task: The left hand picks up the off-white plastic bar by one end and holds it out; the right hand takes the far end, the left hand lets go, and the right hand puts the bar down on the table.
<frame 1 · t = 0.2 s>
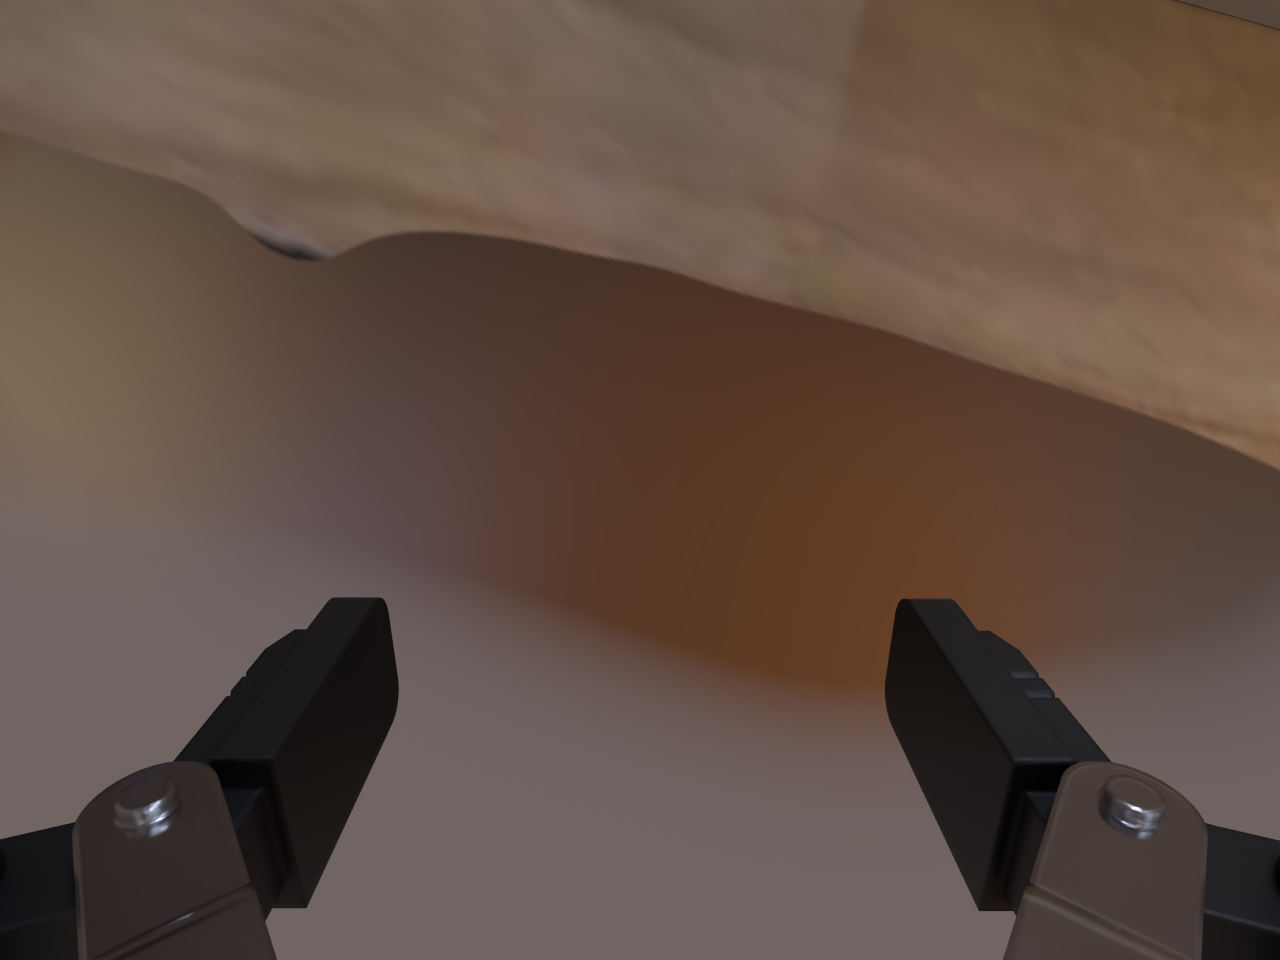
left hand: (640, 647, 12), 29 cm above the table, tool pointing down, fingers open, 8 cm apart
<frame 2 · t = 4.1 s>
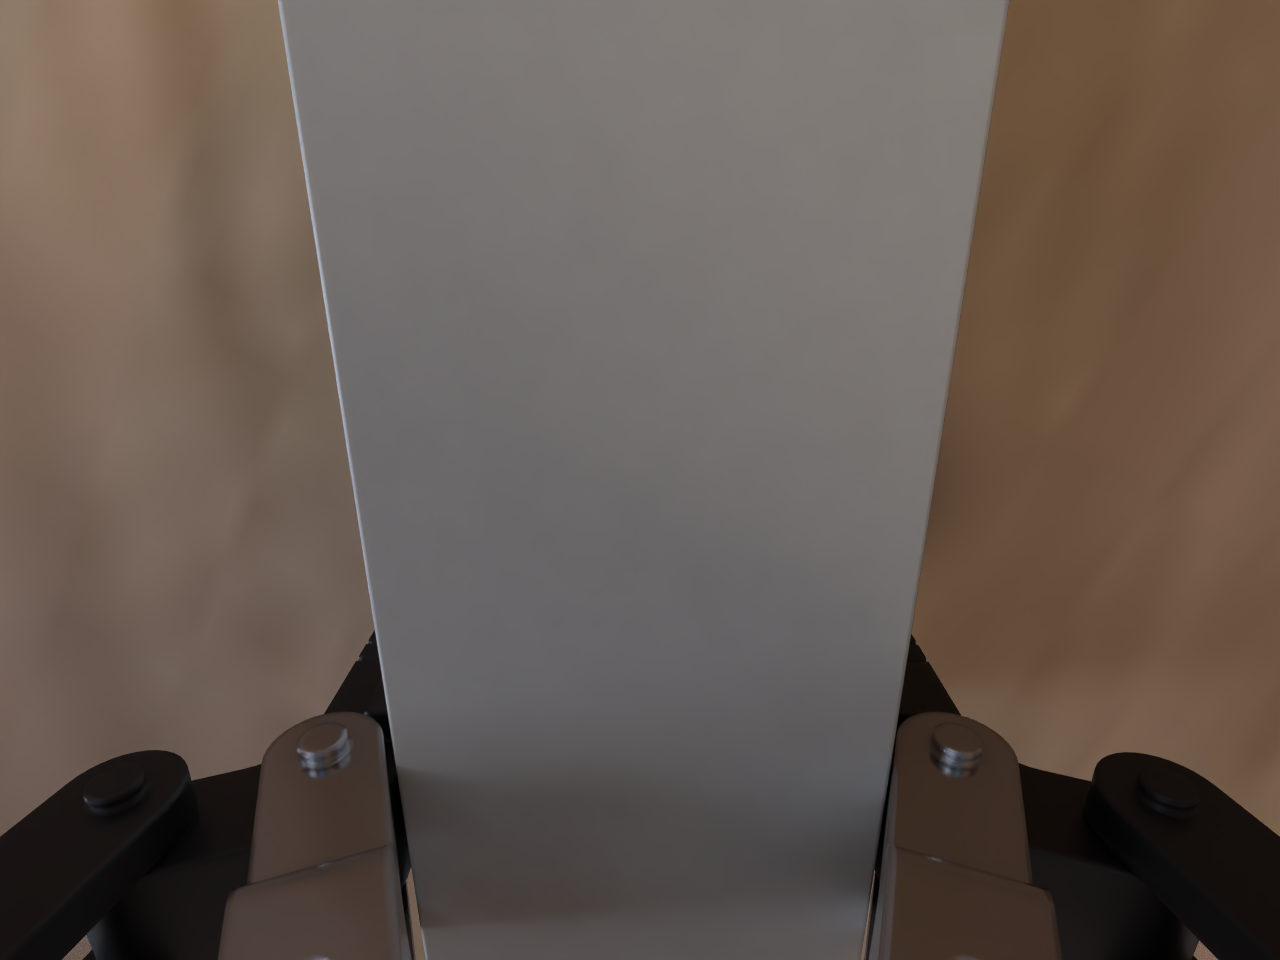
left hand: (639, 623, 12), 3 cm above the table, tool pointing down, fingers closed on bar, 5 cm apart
bar: (641, 5, 12), on the table, touching left hand
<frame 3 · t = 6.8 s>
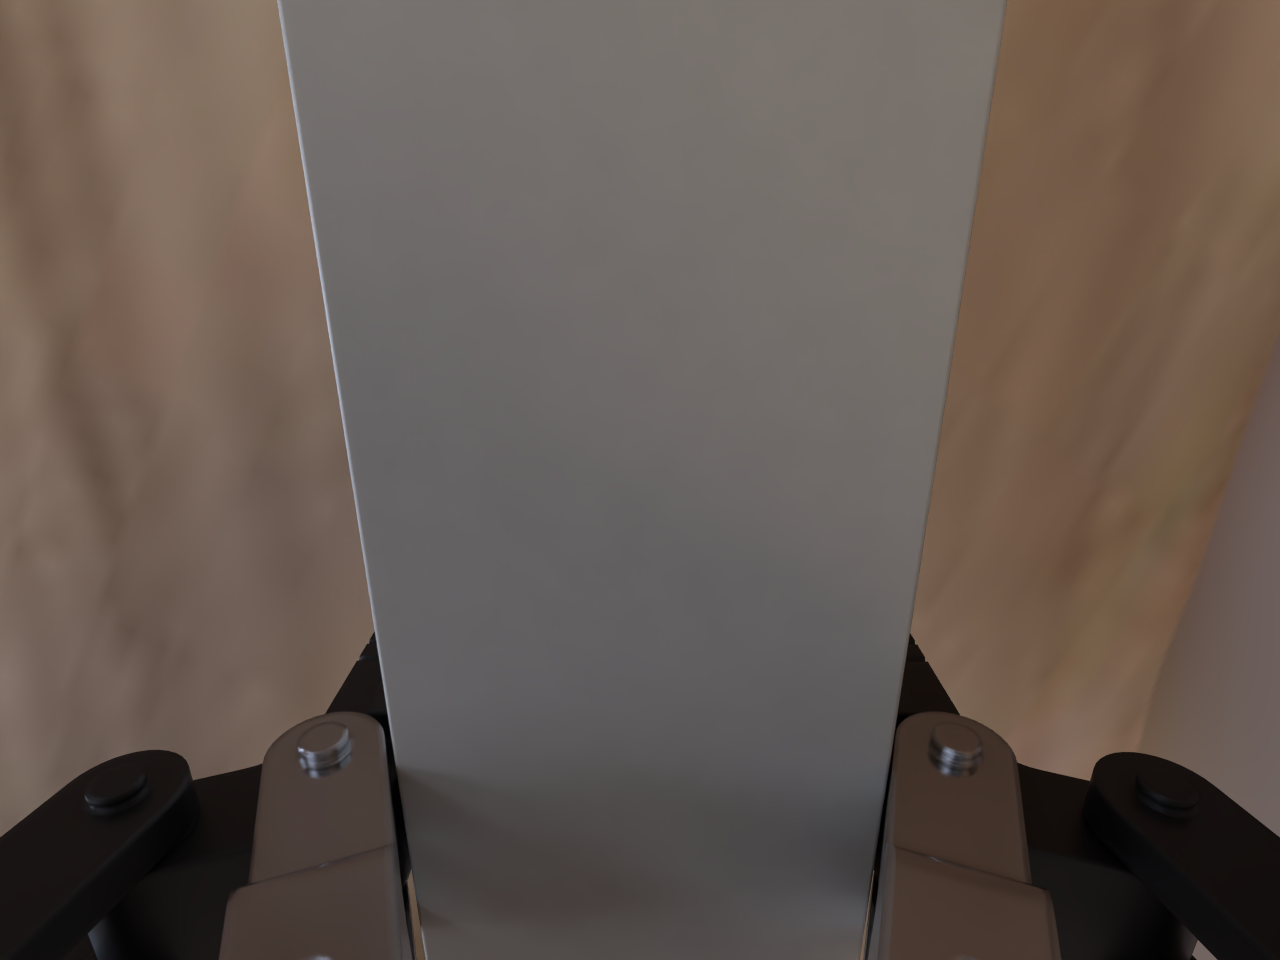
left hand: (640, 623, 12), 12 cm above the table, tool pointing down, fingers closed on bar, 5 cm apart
bar: (640, 4, 12), point 9 cm above the table, touching left hand
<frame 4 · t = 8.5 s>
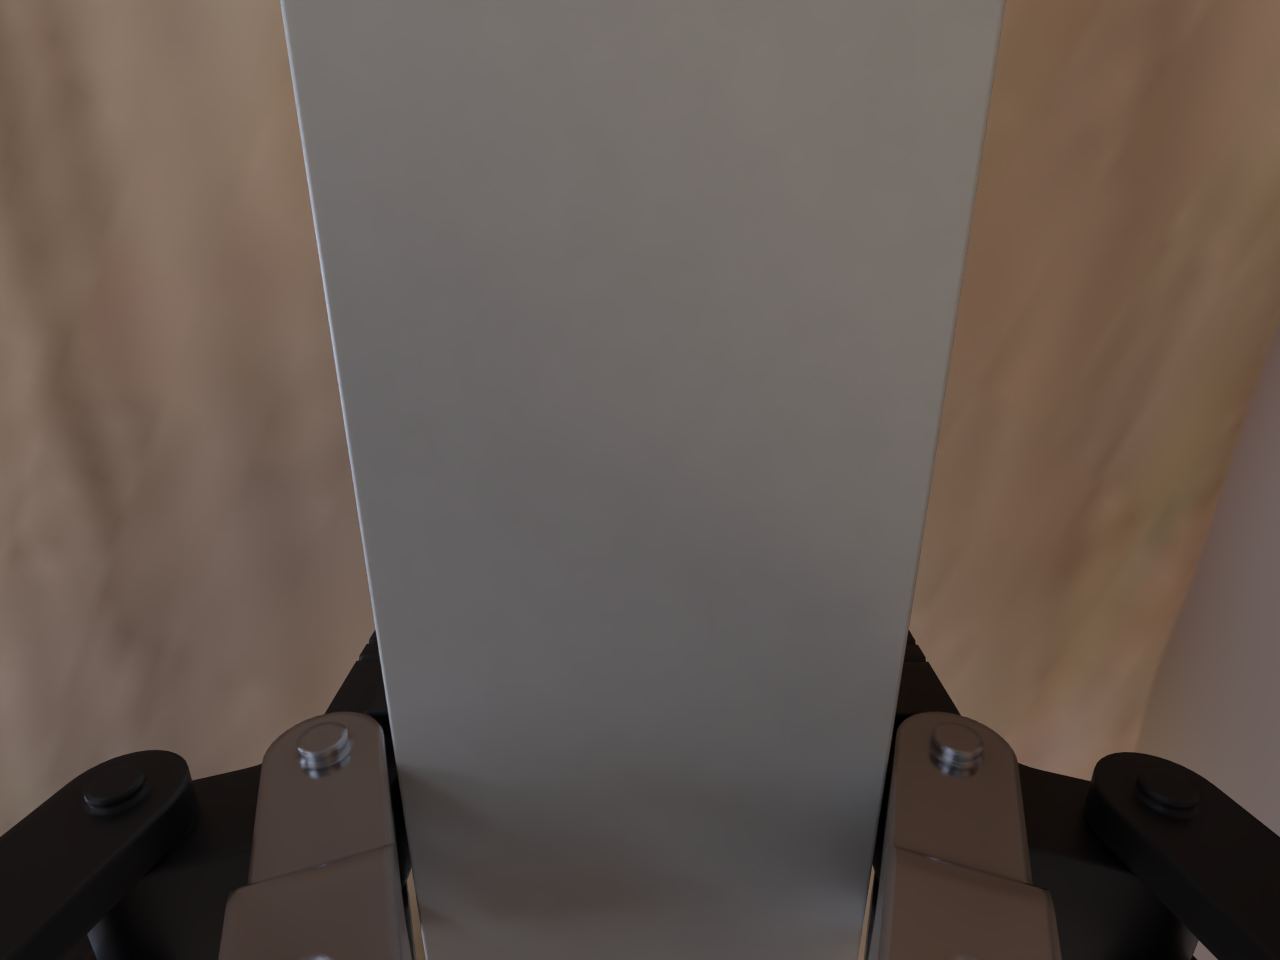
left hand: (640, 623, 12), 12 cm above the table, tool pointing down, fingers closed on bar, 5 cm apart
bar: (641, 4, 12), point 9 cm above the table, touching left hand, right hand
when the left hand's fingers open (12 cm above the table, at t = 9.4 s): bar stays where it is, held by the right hand.
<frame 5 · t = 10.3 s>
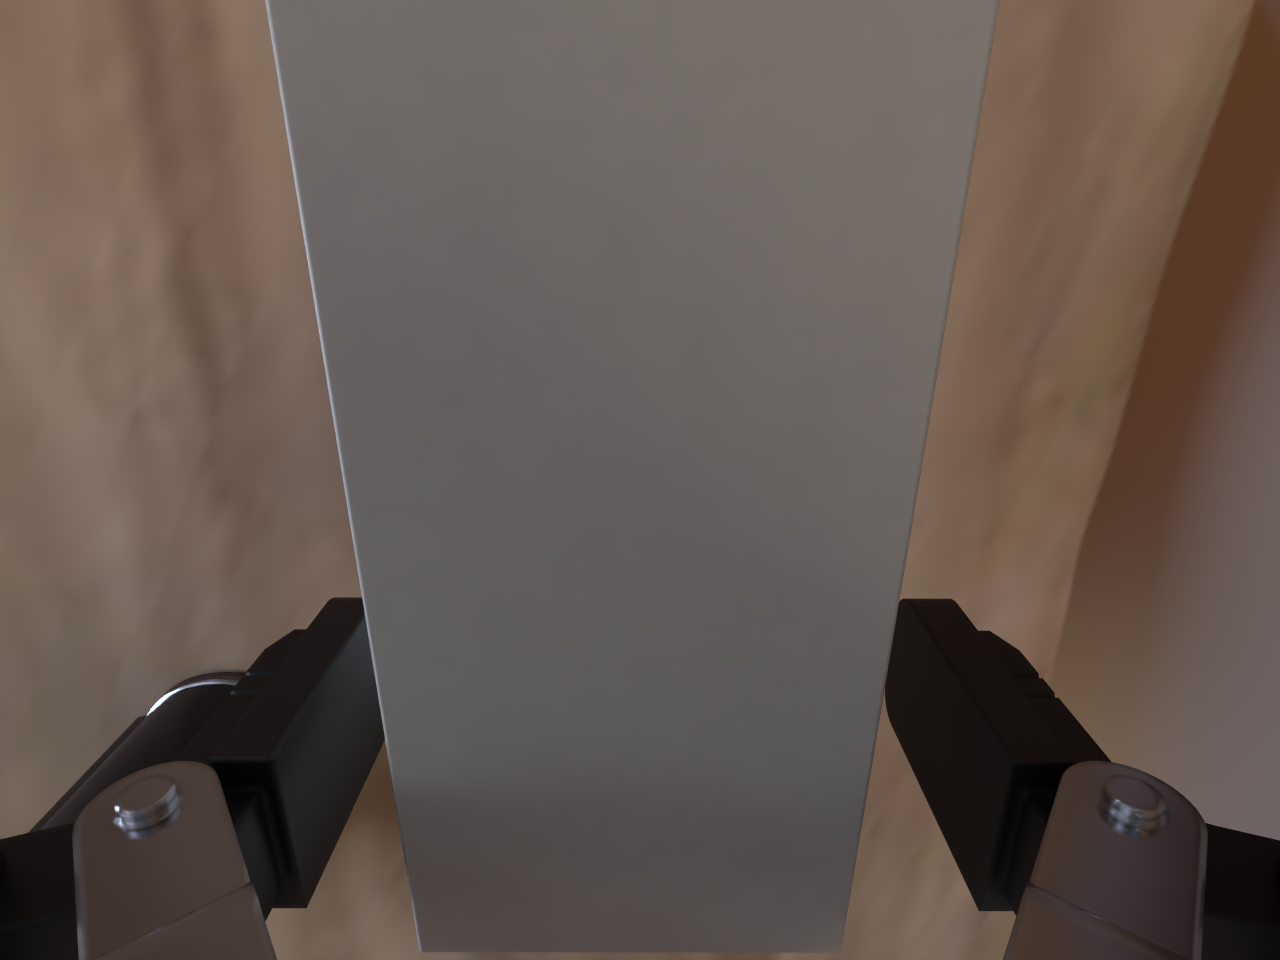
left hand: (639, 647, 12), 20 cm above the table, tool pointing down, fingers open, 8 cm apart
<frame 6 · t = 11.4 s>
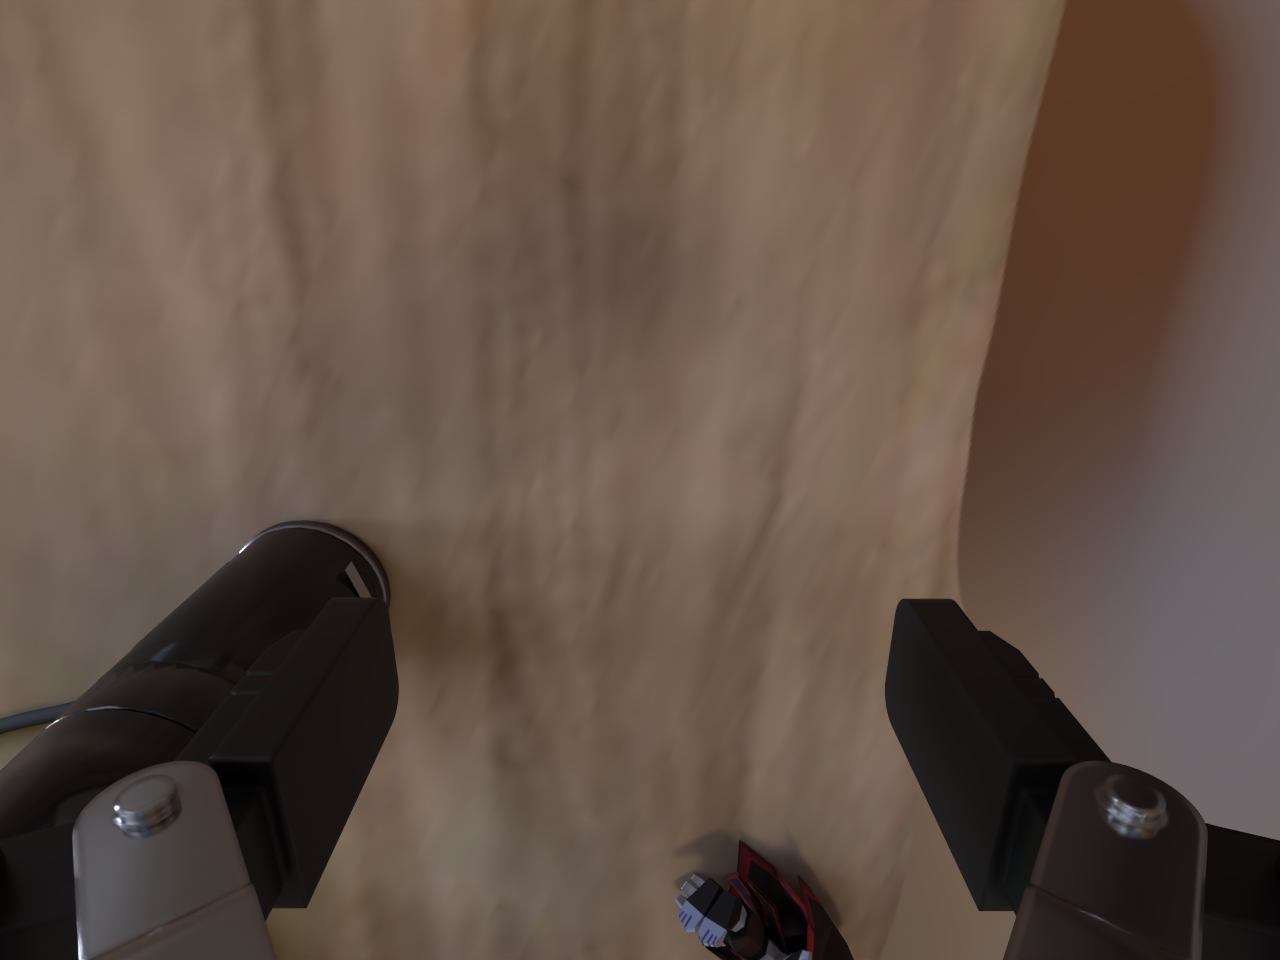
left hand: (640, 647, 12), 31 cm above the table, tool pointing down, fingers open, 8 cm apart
toy: (765, 891, 56), on the table
when the right hand's fingers open (4 cm above the table, at t = 14.7 s): bar stays where it is, on the table.
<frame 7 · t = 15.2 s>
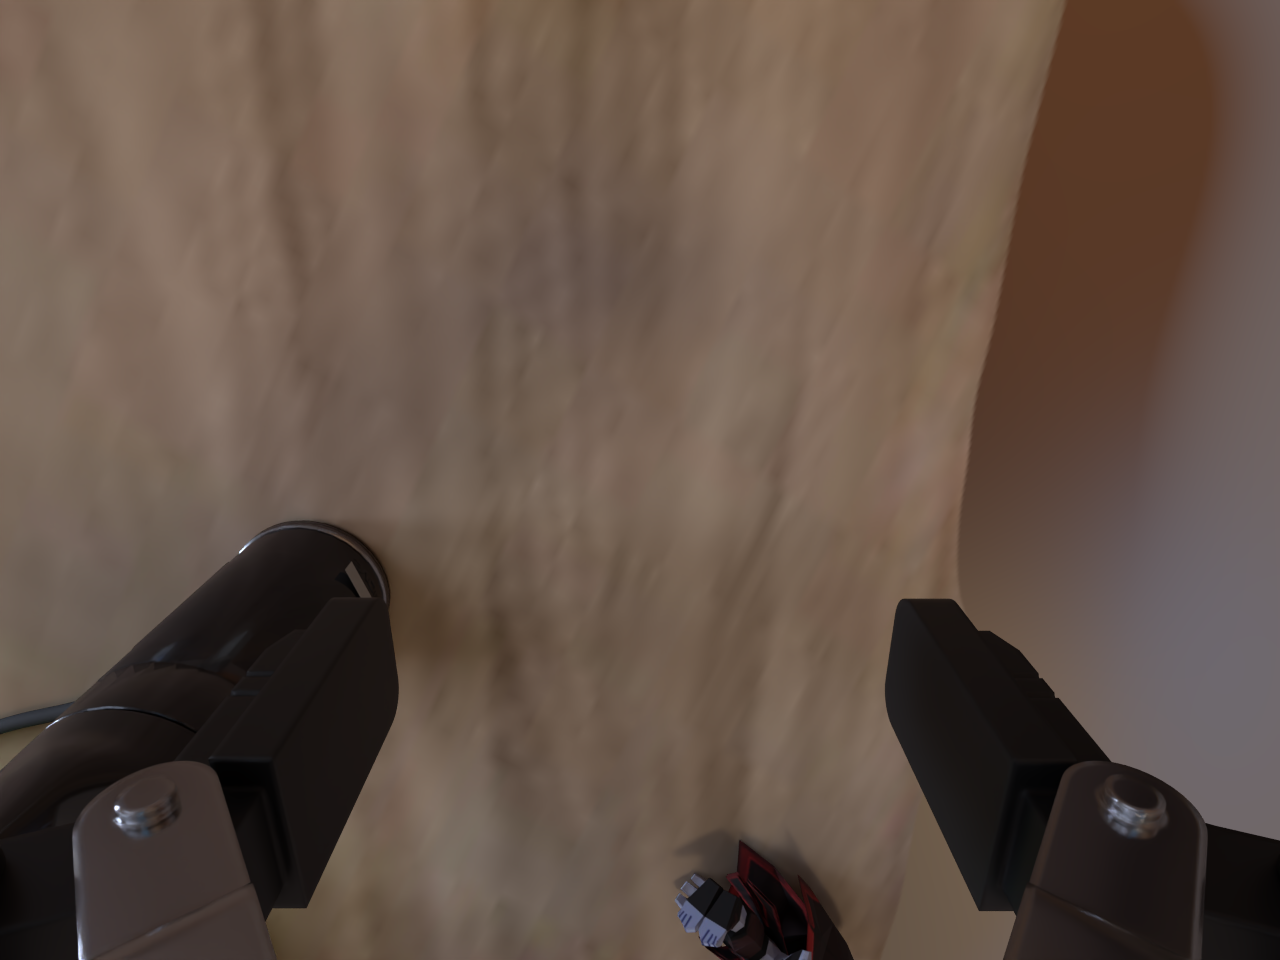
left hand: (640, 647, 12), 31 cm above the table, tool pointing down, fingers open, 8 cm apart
toy: (764, 891, 56), on the table
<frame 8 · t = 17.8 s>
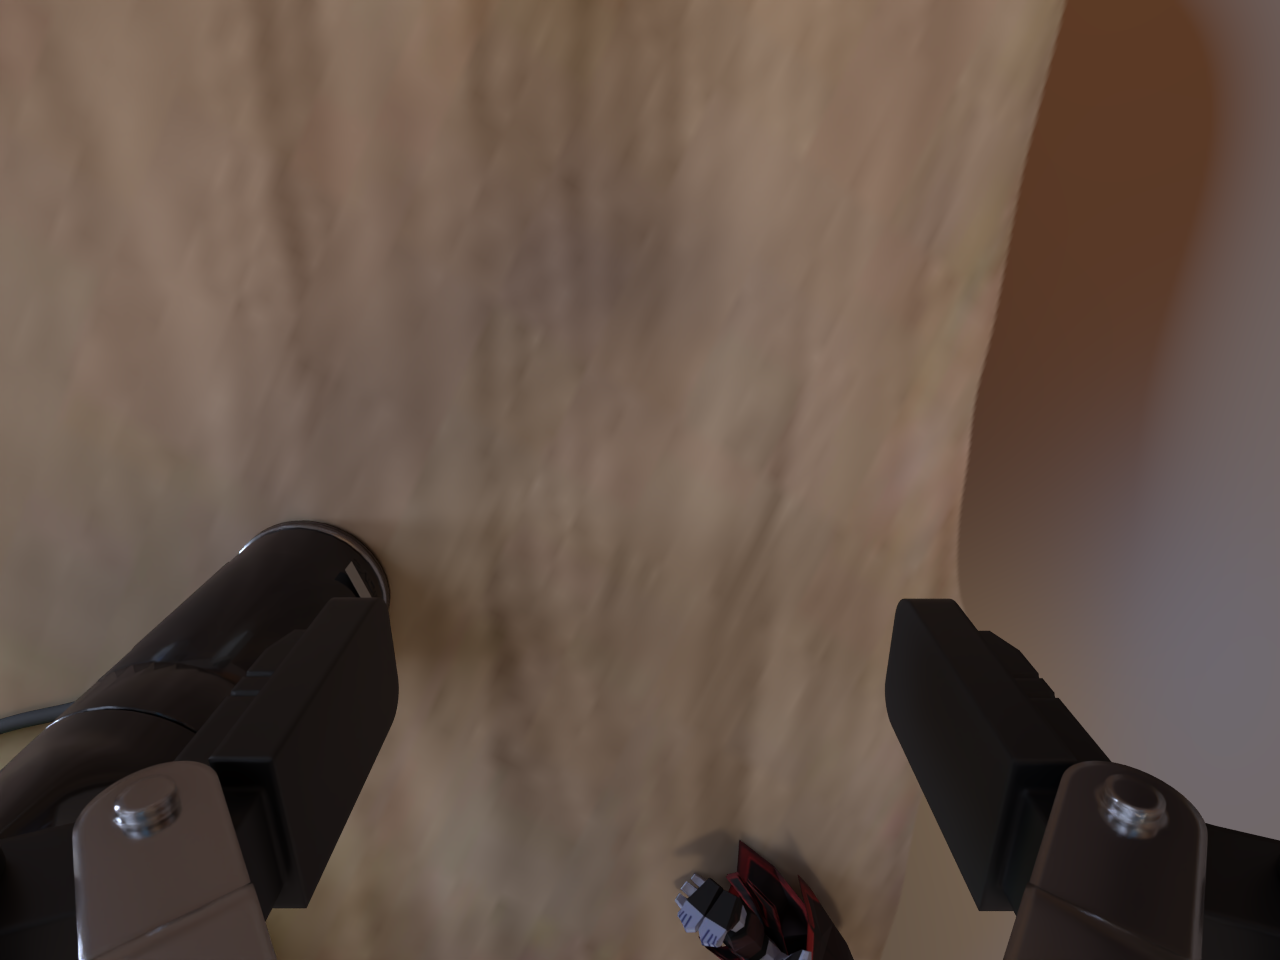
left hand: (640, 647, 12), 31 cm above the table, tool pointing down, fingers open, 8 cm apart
toy: (764, 891, 56), on the table
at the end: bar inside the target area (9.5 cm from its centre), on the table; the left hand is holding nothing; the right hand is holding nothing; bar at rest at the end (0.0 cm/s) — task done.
